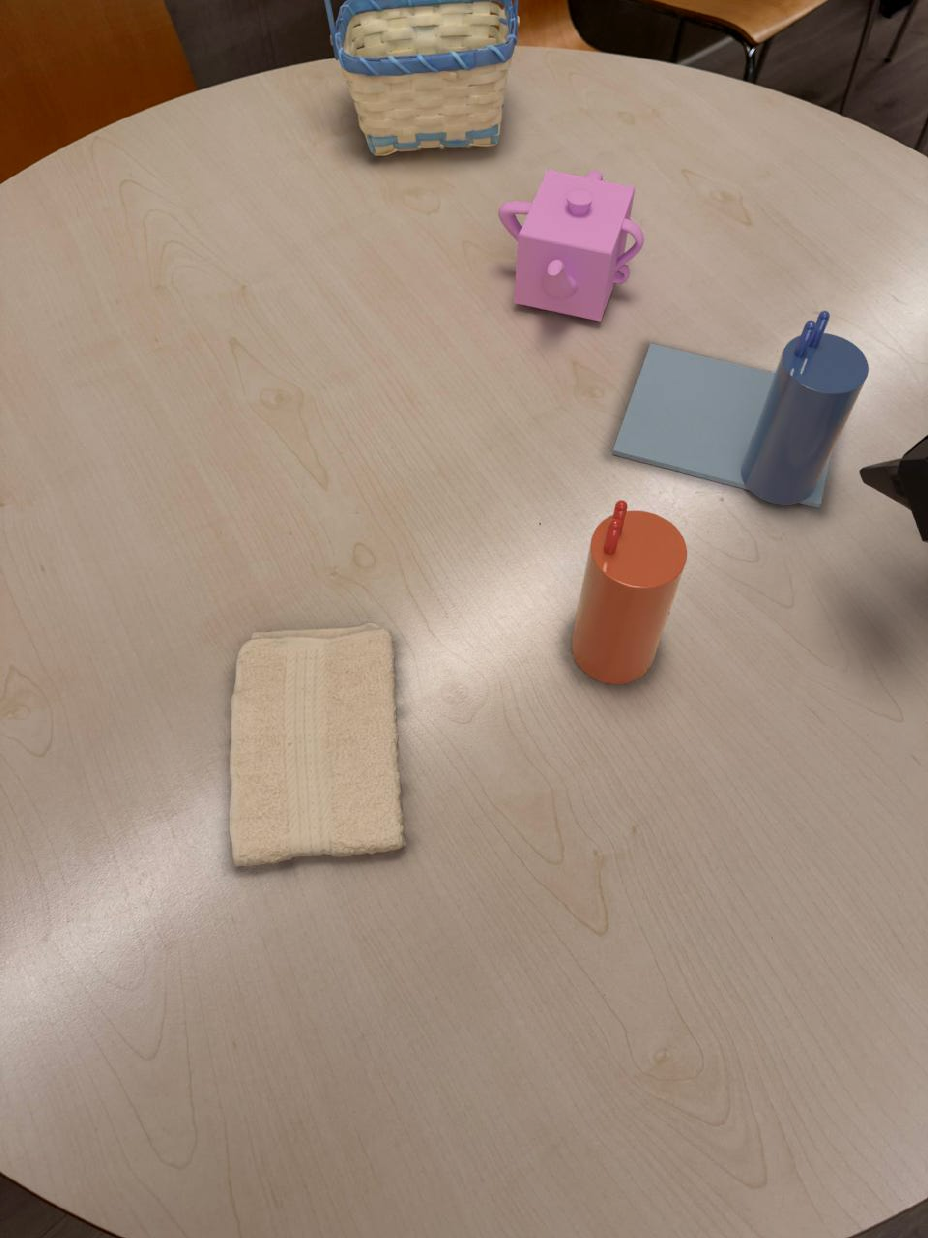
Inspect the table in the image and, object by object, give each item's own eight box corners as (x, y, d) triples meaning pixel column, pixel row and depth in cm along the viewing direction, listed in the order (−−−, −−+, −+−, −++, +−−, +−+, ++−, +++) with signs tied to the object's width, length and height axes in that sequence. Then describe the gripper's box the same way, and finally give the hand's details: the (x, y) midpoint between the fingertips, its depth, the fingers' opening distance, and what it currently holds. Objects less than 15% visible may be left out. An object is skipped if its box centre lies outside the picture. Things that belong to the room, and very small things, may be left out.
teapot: (610, 367, 95) (626, 278, 86) (467, 335, 97) (468, 245, 88) (649, 247, 104) (667, 155, 96) (518, 220, 106) (524, 128, 98)
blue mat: (841, 394, 93) (844, 389, 93) (819, 508, 86) (821, 503, 86) (649, 347, 96) (650, 342, 96) (611, 454, 89) (612, 449, 89)
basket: (509, 84, 119) (521, -152, 100) (522, 169, 111) (538, -71, 91) (331, 89, 119) (306, -149, 99) (330, 175, 110) (303, -66, 90)
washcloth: (393, 633, 79) (391, 611, 77) (411, 857, 70) (409, 841, 67) (238, 646, 79) (230, 625, 76) (235, 874, 69) (226, 859, 66)
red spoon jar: (662, 626, 80) (706, 495, 66) (643, 694, 77) (685, 571, 63) (583, 603, 81) (610, 469, 67) (561, 670, 78) (584, 543, 64)
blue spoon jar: (831, 478, 87) (902, 333, 74) (783, 517, 85) (847, 374, 71) (773, 435, 90) (831, 287, 76) (725, 472, 88) (775, 326, 74)
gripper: (1166, 233, 63) (941, 286, 76) (992, 376, 56) (779, 406, 70) (1208, 397, 66) (985, 420, 80) (1048, 550, 59) (835, 546, 73)
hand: (900, 444), depth 75 cm, fingers open, 9 cm apart
